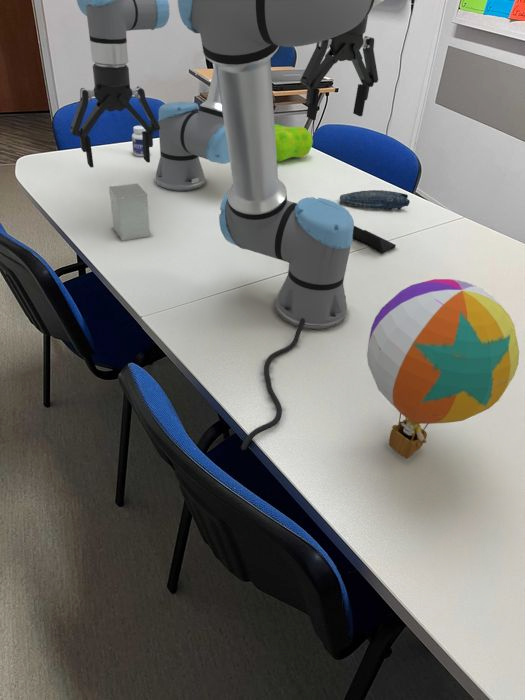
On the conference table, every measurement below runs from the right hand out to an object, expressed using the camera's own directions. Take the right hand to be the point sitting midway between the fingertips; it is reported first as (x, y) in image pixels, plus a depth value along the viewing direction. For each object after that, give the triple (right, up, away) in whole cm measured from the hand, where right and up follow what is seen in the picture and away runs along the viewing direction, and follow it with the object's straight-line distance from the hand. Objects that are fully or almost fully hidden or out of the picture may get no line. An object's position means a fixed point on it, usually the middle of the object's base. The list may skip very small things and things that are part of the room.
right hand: (334, 116), depth 123 cm
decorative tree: (-14, +14, +65) cm, 68 cm away
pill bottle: (-60, +13, +57) cm, 84 cm away
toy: (+6, -72, -40) cm, 82 cm away
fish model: (+17, -11, +37) cm, 42 cm away
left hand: (-52, -11, +1) cm, 53 cm away
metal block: (-51, -25, +12) cm, 58 cm away
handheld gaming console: (+11, -27, +16) cm, 34 cm away
